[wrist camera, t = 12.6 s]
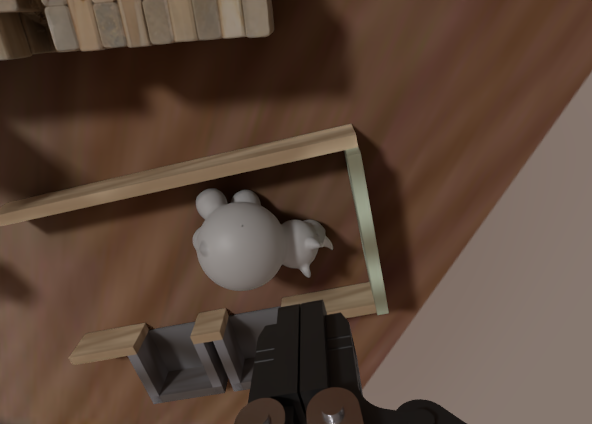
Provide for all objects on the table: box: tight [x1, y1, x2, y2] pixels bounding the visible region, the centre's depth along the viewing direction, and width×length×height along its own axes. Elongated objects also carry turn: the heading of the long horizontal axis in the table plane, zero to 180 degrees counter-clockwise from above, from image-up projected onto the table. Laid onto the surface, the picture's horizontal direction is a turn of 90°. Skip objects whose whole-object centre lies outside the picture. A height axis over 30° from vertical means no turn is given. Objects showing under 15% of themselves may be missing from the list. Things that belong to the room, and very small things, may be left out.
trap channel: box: [0, 124, 389, 404], centre depth 38 cm, size 24×32×5 cm
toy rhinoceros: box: [193, 188, 333, 291], centre depth 34 cm, size 7×12×8 cm, turn 76°
